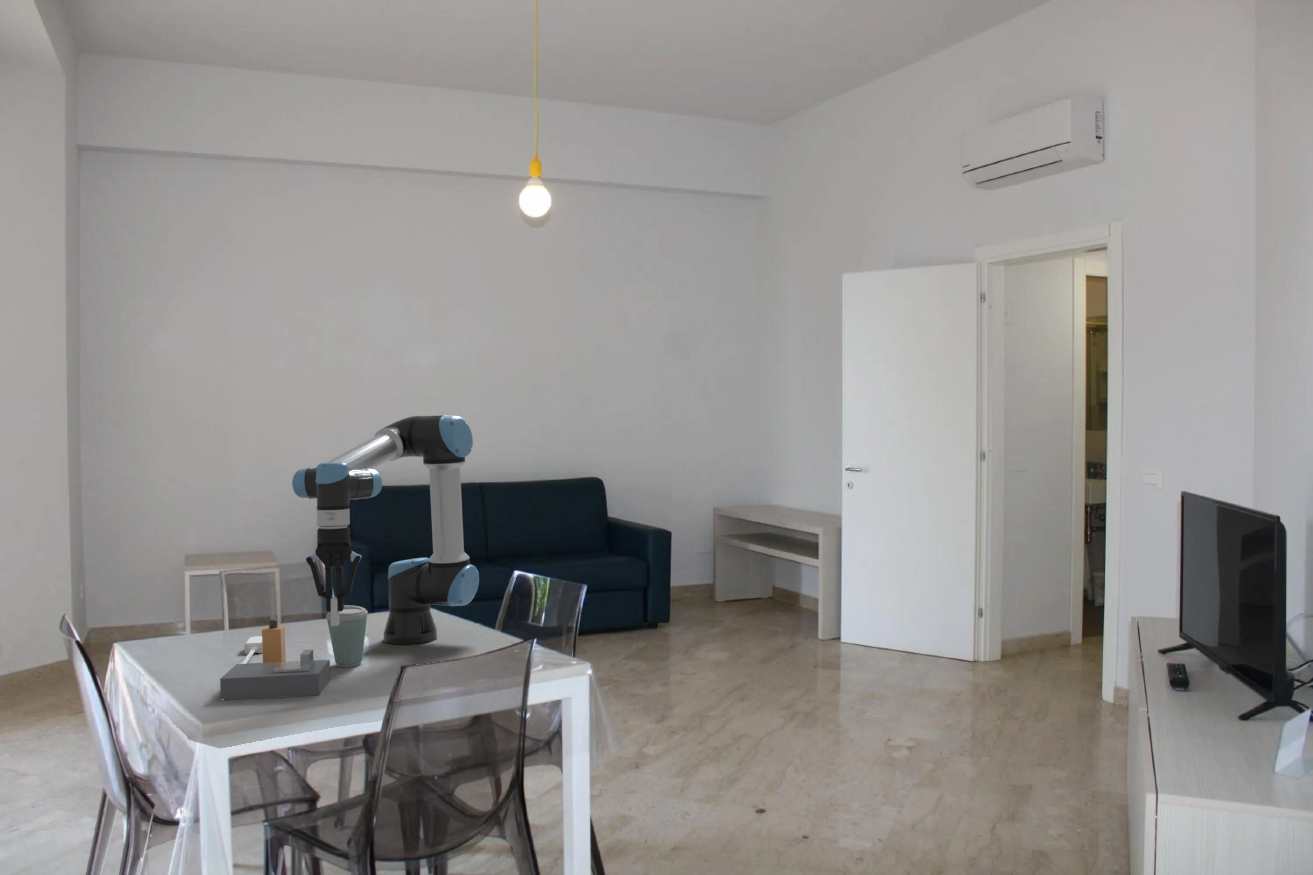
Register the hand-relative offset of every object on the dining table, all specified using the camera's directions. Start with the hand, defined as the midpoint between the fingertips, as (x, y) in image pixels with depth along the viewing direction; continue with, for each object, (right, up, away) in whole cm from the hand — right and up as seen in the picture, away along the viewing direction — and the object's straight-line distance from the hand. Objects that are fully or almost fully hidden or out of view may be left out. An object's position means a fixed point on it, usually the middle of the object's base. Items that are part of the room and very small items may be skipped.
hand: (335, 624), depth 248 cm
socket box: (-13, -15, -1) cm, 20 cm away
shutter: (-10, -10, -1) cm, 14 cm away
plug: (-19, -15, +13) cm, 28 cm away
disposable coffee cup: (-3, -15, +22) cm, 27 cm away
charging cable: (-33, -15, +32) cm, 48 cm away
